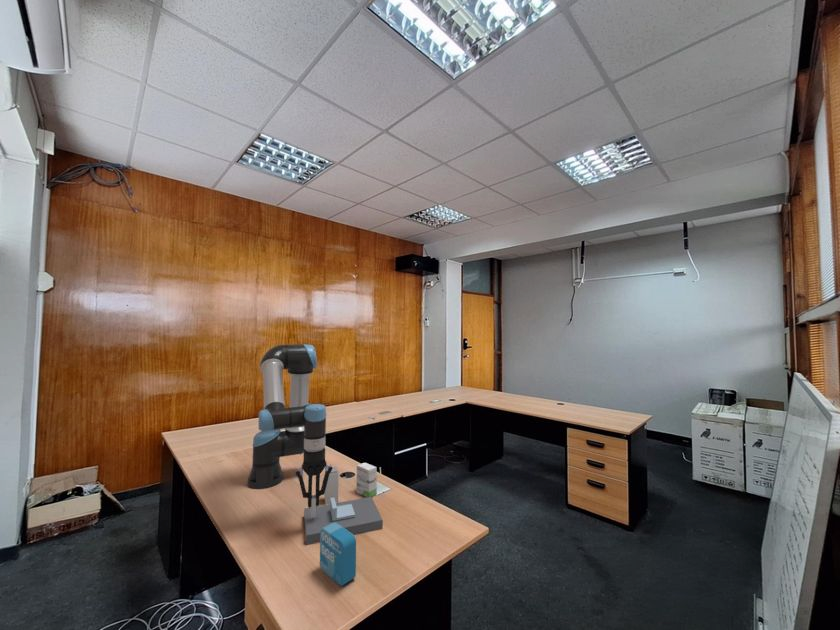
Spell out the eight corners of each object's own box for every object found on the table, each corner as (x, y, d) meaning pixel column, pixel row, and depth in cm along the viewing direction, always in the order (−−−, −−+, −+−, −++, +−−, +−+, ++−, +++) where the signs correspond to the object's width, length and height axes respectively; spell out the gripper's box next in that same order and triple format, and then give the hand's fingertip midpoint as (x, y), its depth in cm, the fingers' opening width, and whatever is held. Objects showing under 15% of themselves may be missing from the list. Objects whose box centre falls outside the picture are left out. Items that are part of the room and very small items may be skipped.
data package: (319, 567, 99) (320, 526, 99) (332, 560, 102) (333, 520, 103) (342, 588, 91) (343, 543, 91) (356, 579, 94) (356, 536, 95)
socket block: (304, 516, 126) (304, 508, 126) (371, 504, 135) (371, 496, 136) (306, 544, 109) (306, 535, 110) (382, 528, 119) (382, 519, 119)
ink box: (377, 494, 144) (377, 466, 145) (368, 498, 140) (368, 470, 141) (364, 488, 149) (364, 461, 150) (355, 492, 146) (356, 464, 146)
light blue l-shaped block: (330, 509, 125) (330, 498, 125) (351, 505, 128) (351, 494, 128) (332, 521, 117) (332, 508, 118) (355, 516, 120) (355, 504, 121)
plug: (324, 498, 140) (325, 468, 141) (336, 496, 142) (337, 466, 142) (325, 504, 135) (326, 472, 136) (338, 502, 137) (338, 471, 138)
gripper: (295, 454, 114) (293, 524, 113) (334, 449, 119) (333, 517, 118) (295, 447, 121) (293, 513, 120) (332, 443, 126) (330, 507, 125)
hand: (313, 515), depth 119 cm, fingers closed
